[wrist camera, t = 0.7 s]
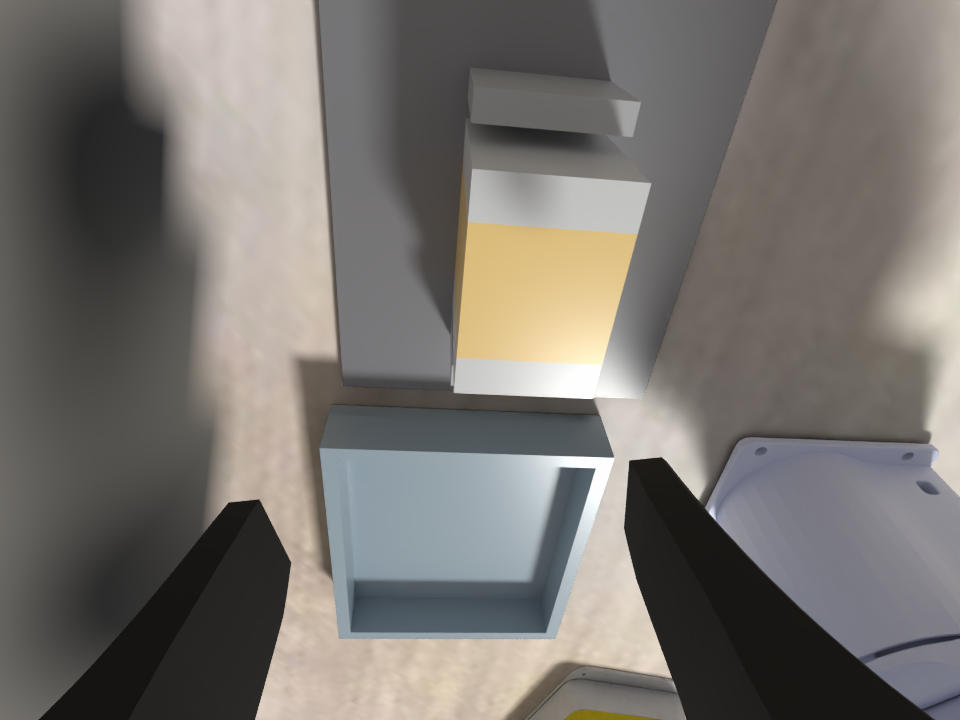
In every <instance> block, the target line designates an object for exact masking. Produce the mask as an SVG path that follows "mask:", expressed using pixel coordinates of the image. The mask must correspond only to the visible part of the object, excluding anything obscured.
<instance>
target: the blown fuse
mask: <svg viewBox="0 0 960 720" xmlns="http://www.w3.org/2000/svg"><path fill="white" fill-rule="evenodd" d="M650 187H651V182H650V181H649V180H648V179H647V178H646V177H645V176H644V175H643V174H642V173H641V172H640V171H639V169H638V168H637V167H636V166H635V165H634V164H633V163H632V162H631V161H630V160H629V159H628V158H627V157H626V156H625V155H624V154H623V152H622V151H621V150H620V149H619V148H618V147H617V146H616V145H615V144H614V143H613V142H612V141H611V140H610V139H609V138H608V136H607V135H602V134H591V133H579V132H568V131H556V130H545V129H534V128H522V127H511V126H499V125H488V124H477V123H471V119H470V118H466V126H465V140H464V154H463V167H462V181H461V195H460V209H459V222H458V236H457V250H456V263H455V277H454V291H453V381H454V393H465V394H488V395H512V396H535V397H559V398H582V399H593V397H594V394H595V390H596V386H597V383H598V379H599V375H600V371H601V368H602V364H603V360H604V357H605V353H606V349H607V346H608V342H609V338H610V335H611V331H612V327H613V323H614V320H615V316H616V312H617V309H618V305H619V301H620V298H621V294H622V290H623V287H624V283H625V279H626V275H627V272H628V268H629V264H630V261H631V257H632V253H633V250H634V246H635V242H636V239H637V235H638V231H639V227H640V224H641V220H642V216H643V213H644V209H645V205H646V202H647V198H648V194H649V191H650Z"/></svg>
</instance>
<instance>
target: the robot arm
mask: <svg viewBox="0 0 960 720" xmlns="http://www.w3.org/2000/svg"><path fill="white" fill-rule="evenodd" d="M760 447H761V448H760ZM758 448H759V449H758ZM938 455H939V451H938V450H937V449H936V448H935V447H934V446H933V445H932V444H918V443H891V442H865V441H838V440H811V439H784V438H757V437H748V438H744V439H742V440H740V441H739V442H738V443H737V444H736V446H735V448H734V450H733V452H732V454H731V456H730V458H729V460H728V462H727V464H726V466H725V468H724V470H723V472H722V474H721V476H720V478H719V481H718V483H717V485H716V487H715V489H714V491H713V493H712V495H711V497H710V499H709V501H708V503H707V505H706V507H705V508H704V507H703V505H702V504H701V503H700V502H699V501H698V500H697V498H696V497H695V496H694V495H693V494H692V492H691V491H690V490H689V489H688V488H687V486H686V485H685V484H684V483H683V482H682V480H681V479H680V478H679V477H678V475H677V474H676V473H675V472H674V470H673V469H672V468H671V466H670V465H669V464H668V463H667V461H665V460H664V459H663V458H662V457H660V458H650V459H641V460H631V461H629V472H628V485H627V498H626V511H625V524H624V530H625V534H626V539H627V543H628V547H629V551H630V555H631V559H632V563H633V567H634V571H635V575H636V579H637V582H638V585H639V588H640V591H641V594H642V596H643V599H644V602H645V605H646V607H647V610H648V613H649V616H650V619H651V621H652V624H653V627H654V630H655V632H656V635H657V638H658V641H659V643H660V646H661V649H662V651H663V654H664V657H665V660H666V662H667V665H668V668H669V671H670V673H671V676H672V679H673V682H674V684H675V687H676V690H677V693H678V695H679V698H680V701H681V704H682V707H683V711H684V714H685V717H686V720H960V497H959V496H958V495H957V494H956V493H955V492H954V491H953V490H952V489H951V488H950V487H949V486H948V485H947V484H946V483H945V481H944V480H943V479H942V478H941V477H940V476H939V475H938V474H937V473H936V472H935V471H934V470H933V469H932V468H931V467H930V466H931V465H932V464H933V462H934V461H935V460H936V459H937V457H938ZM290 567H291V561H290V559H289V557H288V555H287V553H286V551H285V549H284V547H283V545H282V543H281V541H280V539H279V538H278V536H277V534H276V532H275V530H274V528H273V526H272V524H271V522H270V520H269V518H268V516H267V514H266V512H265V510H264V508H263V506H262V504H261V502H260V500H250V501H240V502H230V503H228V504H227V505H226V507H225V508H224V509H223V510H222V511H221V513H220V514H219V515H218V516H217V518H216V519H215V520H214V521H213V522H212V524H211V525H210V526H209V527H208V529H207V530H206V531H205V532H204V534H203V535H202V536H201V537H200V539H199V540H198V541H197V542H196V544H195V545H194V546H193V547H192V549H191V550H190V551H189V552H188V554H187V555H186V556H185V557H184V559H183V560H182V561H181V562H180V563H179V565H178V566H177V567H176V568H175V570H174V571H173V572H172V573H171V575H170V576H169V577H168V578H167V579H166V581H165V582H164V583H163V584H162V585H161V587H160V588H159V589H158V590H157V591H156V593H155V594H154V595H153V596H152V597H151V599H150V600H149V601H148V602H147V604H146V605H145V606H144V607H143V608H142V610H141V611H140V612H139V613H138V614H137V615H136V617H135V618H134V619H133V620H132V621H131V622H130V623H129V625H128V626H127V627H126V628H125V629H124V630H123V631H122V632H121V633H120V635H119V636H118V637H117V638H116V639H115V640H114V641H113V642H112V644H111V645H110V646H109V647H108V648H107V649H106V650H105V651H104V653H103V654H102V655H101V656H100V657H99V658H98V659H97V660H96V661H95V663H94V664H93V665H92V666H91V667H90V668H89V669H88V670H87V671H86V672H85V673H84V674H83V675H82V677H81V678H80V679H79V680H78V681H77V682H76V683H75V684H74V685H73V686H72V687H71V688H70V689H69V690H68V691H67V692H66V693H65V694H64V695H63V696H62V697H61V698H60V699H59V700H58V701H57V702H56V703H55V704H54V705H53V706H52V707H51V708H50V709H49V710H48V711H47V712H46V713H45V714H44V715H43V716H42V717H41V718H40V719H39V720H255V717H256V714H257V710H258V707H259V703H260V699H261V696H262V692H263V689H264V685H265V681H266V678H267V674H268V670H269V667H270V663H271V660H272V656H273V652H274V649H275V645H276V641H277V637H278V634H279V630H280V626H281V622H282V618H283V614H284V608H285V602H286V596H287V589H288V582H289V574H290Z"/></svg>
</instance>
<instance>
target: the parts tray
mask: <svg viewBox="0 0 960 720" xmlns="http://www.w3.org/2000/svg"><path fill="white" fill-rule="evenodd" d="M319 449H320V459H321V469H322V478H323V488H324V498H325V507H326V517H327V527H328V536H329V546H330V556H331V565H332V575H333V585H334V595H335V604H336V614H337V624H338V633H339V639H556V636H557V633H558V630H559V627H560V624H561V621H562V618H563V615H564V611H565V608H566V605H567V602H568V599H569V596H570V593H571V590H572V587H573V584H574V581H575V578H576V575H577V571H578V568H579V565H580V562H581V559H582V556H583V553H584V550H585V547H586V544H587V541H588V538H589V535H590V532H591V528H592V525H593V522H594V519H595V516H596V513H597V510H598V507H599V504H600V501H601V498H602V495H603V492H604V488H605V485H606V482H607V479H608V476H609V473H610V470H611V467H612V464H613V461H614V455H613V452H612V449H611V446H610V443H609V440H608V437H607V435H606V432H605V429H604V426H603V423H602V420H601V417H600V415H579V414H554V413H529V412H504V411H479V410H454V409H429V408H404V407H379V406H354V405H331V407H330V411H329V414H328V418H327V422H326V425H325V429H324V433H323V437H322V440H321V444H320V448H319Z"/></svg>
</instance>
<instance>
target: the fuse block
mask: <svg viewBox="0 0 960 720" xmlns="http://www.w3.org/2000/svg"><path fill="white" fill-rule="evenodd" d="M318 1H319V17H320V33H321V48H322V64H323V80H324V95H325V111H326V127H327V143H328V158H329V174H330V190H331V206H332V221H333V237H334V253H335V268H336V284H337V300H338V316H339V331H340V347H341V363H342V378H343V386H352V387H375V388H398V389H421V390H445V391H454V381H453V291H454V277H455V263H456V250H457V236H458V222H459V209H460V195H461V181H462V167H463V154H464V140H465V126H466V118H470V119H471V123H477V124H488V125H499V126H511V127H522V128H534V129H545V130H556V131H568V132H579V133H591V134H602V135H607V136H608V138H609V139H610V140H611V141H612V142H613V143H614V144H615V145H616V146H617V147H618V148H619V149H620V150H621V151H622V152H623V154H624V155H625V156H626V157H627V158H628V159H629V160H630V161H631V162H632V163H633V164H634V165H635V166H636V167H637V168H638V169H639V171H640V172H641V173H642V174H643V175H644V176H645V177H646V178H647V179H648V180H649V181H650V182H651V187H650V191H649V194H648V198H647V202H646V205H645V209H644V213H643V216H642V220H641V224H640V227H639V231H638V235H637V239H636V242H635V246H634V250H633V253H632V257H631V261H630V264H629V268H628V272H627V275H626V279H625V283H624V287H623V290H622V294H621V298H620V301H619V305H618V309H617V312H616V316H615V320H614V323H613V327H612V331H611V335H610V338H609V342H608V346H607V349H606V353H605V357H604V360H603V364H602V368H601V371H600V375H599V379H598V383H597V386H596V390H595V394H594V397H607V398H630V399H643V396H644V393H645V390H646V387H647V385H648V382H649V379H650V376H651V373H652V370H653V367H654V364H655V361H656V358H657V355H658V352H659V349H660V346H661V343H662V340H663V337H664V334H665V331H666V328H667V325H668V322H669V319H670V316H671V313H672V310H673V307H674V304H675V302H676V299H677V296H678V293H679V290H680V287H681V284H682V281H683V278H684V275H685V272H686V269H687V266H688V263H689V260H690V257H691V254H692V251H693V248H694V245H695V242H696V239H697V236H698V233H699V230H700V227H701V224H702V221H703V219H704V216H705V213H706V210H707V207H708V204H709V201H710V198H711V195H712V192H713V189H714V186H715V183H716V180H717V177H718V174H719V171H720V168H721V165H722V162H723V159H724V156H725V153H726V150H727V147H728V144H729V141H730V138H731V136H732V133H733V130H734V127H735V124H736V121H737V118H738V115H739V112H740V109H741V106H742V103H743V100H744V97H745V94H746V91H747V88H748V85H749V82H750V79H751V76H752V73H753V70H754V67H755V64H756V61H757V58H758V55H759V53H760V50H761V47H762V44H763V41H764V38H765V35H766V32H767V29H768V26H769V23H770V20H771V17H772V14H773V11H774V8H775V5H776V2H777V0H318Z"/></svg>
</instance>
